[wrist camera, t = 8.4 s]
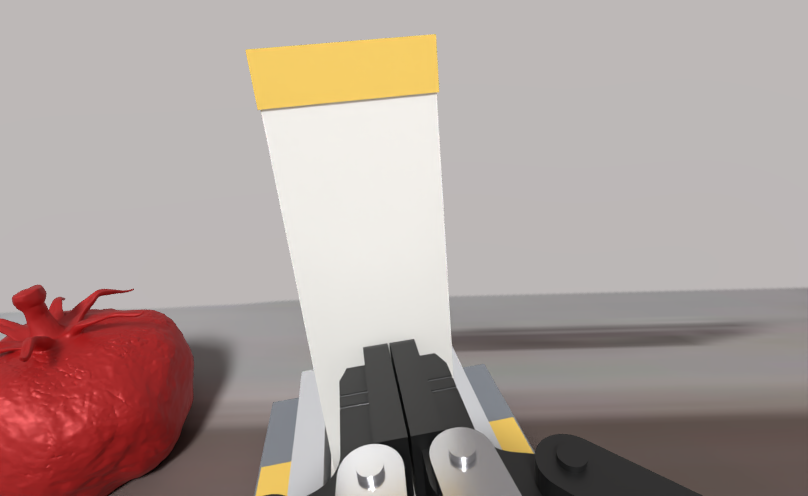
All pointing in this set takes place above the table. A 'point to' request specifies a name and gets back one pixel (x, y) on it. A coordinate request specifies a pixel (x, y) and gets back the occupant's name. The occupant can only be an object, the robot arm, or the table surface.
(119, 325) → the red round fruit
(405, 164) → the switch tab
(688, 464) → the table surface
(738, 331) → the table surface
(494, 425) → the switch plate
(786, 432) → the table surface
